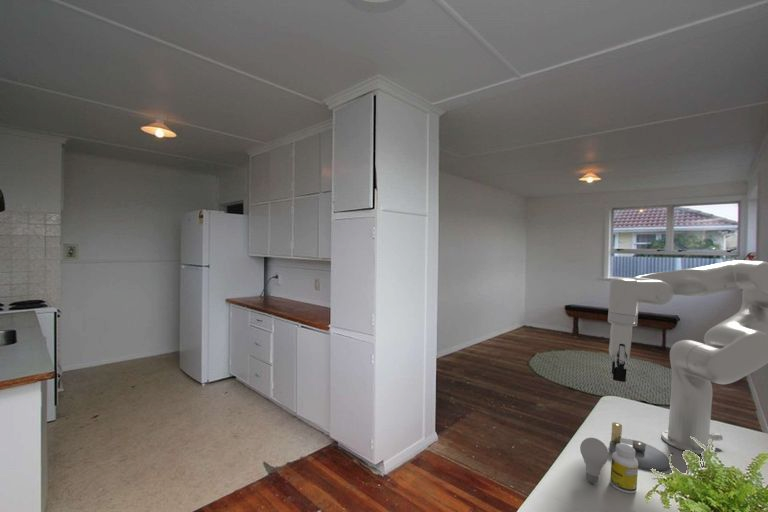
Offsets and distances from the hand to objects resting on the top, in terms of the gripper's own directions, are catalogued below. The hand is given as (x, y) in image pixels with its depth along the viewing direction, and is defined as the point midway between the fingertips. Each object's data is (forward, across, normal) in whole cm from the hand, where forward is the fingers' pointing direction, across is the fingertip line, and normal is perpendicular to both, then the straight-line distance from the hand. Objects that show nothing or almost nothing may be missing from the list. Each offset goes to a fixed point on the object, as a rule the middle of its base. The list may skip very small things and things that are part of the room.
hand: (618, 377), depth 110 cm
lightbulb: (+20, +28, -6) cm, 35 cm away
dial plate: (+19, +6, +6) cm, 21 cm away
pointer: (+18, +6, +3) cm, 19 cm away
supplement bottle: (+20, +25, 0) cm, 32 cm away
